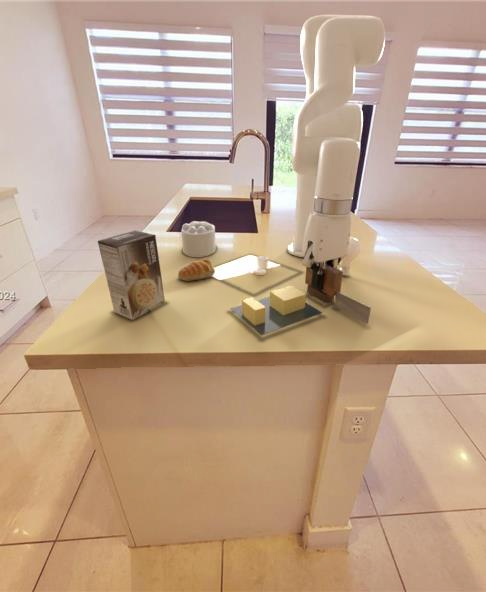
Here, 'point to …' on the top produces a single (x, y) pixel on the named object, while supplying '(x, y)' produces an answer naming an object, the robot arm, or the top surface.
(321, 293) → the knife rest
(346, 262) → the lightbulb
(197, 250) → the lumpy-topped squat cylinder
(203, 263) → the pastry
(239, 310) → the butter dish
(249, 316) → the butter slice
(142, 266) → the coffee box
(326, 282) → the knife
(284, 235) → the top surface
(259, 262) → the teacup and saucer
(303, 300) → the butter block
